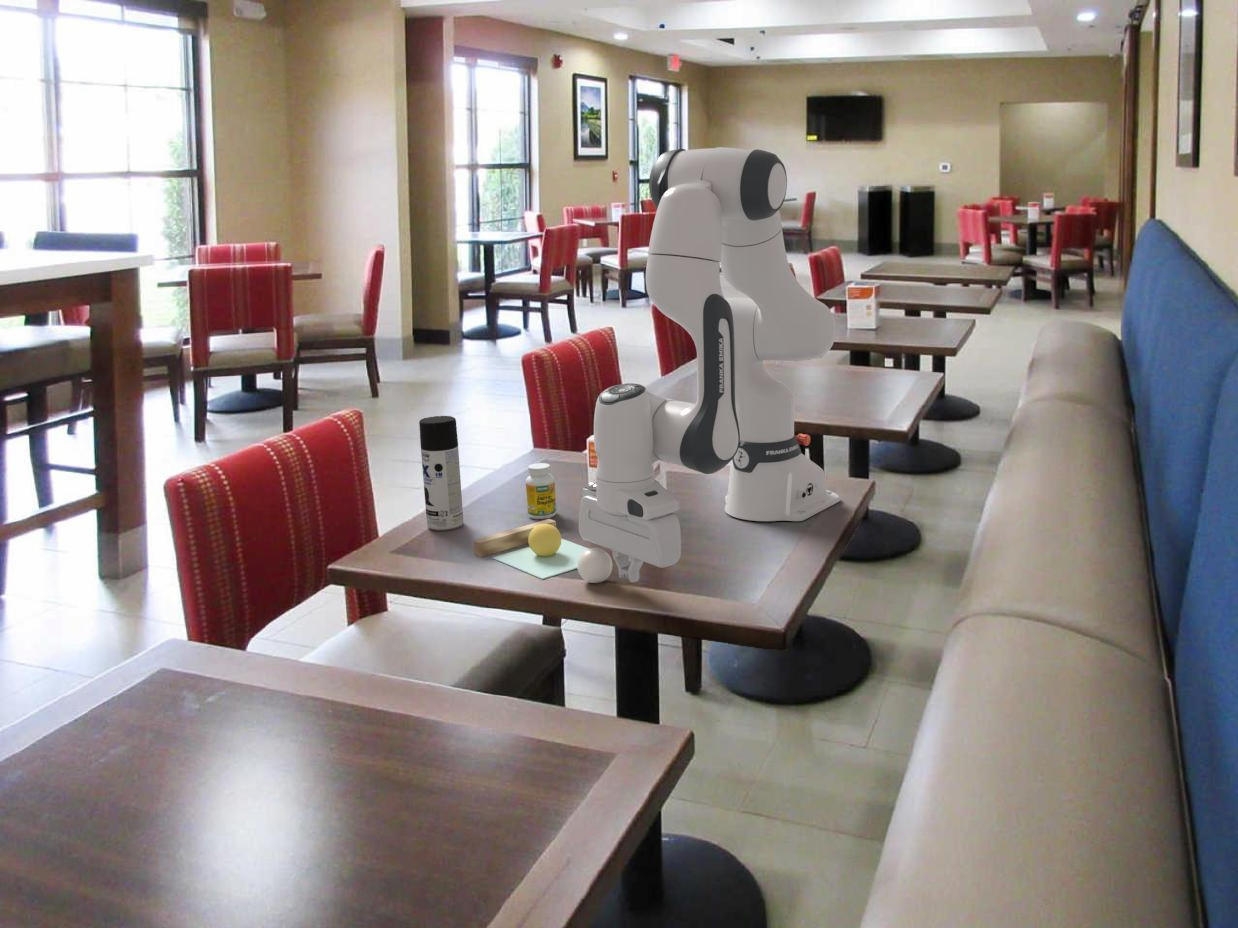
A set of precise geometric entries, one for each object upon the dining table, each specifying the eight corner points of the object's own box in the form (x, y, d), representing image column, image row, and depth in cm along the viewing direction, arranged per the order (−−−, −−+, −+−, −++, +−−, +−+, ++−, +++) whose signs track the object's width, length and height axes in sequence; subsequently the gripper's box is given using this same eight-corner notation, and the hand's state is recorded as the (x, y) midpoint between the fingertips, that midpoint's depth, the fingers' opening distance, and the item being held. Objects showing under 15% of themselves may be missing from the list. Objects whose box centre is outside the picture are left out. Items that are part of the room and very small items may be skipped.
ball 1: (558, 514, 195) (572, 543, 193) (544, 529, 199) (558, 557, 197) (531, 522, 191) (545, 551, 190) (518, 536, 196) (531, 565, 194)
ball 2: (616, 546, 180) (621, 572, 184) (588, 536, 183) (593, 562, 187) (596, 568, 177) (601, 594, 180) (567, 557, 180) (573, 583, 183)
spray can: (423, 523, 215) (414, 417, 209) (458, 517, 217) (450, 413, 212) (432, 533, 209) (423, 425, 203) (468, 527, 211) (460, 420, 206)
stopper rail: (549, 532, 207) (549, 518, 206) (556, 534, 205) (555, 521, 205) (474, 554, 197) (473, 540, 196) (480, 557, 196) (479, 543, 195)
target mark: (559, 538, 203) (558, 537, 203) (610, 557, 193) (610, 556, 193) (492, 558, 195) (492, 557, 195) (542, 579, 184) (542, 578, 184)
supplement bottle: (547, 509, 220) (544, 460, 218) (562, 515, 216) (559, 466, 213) (522, 514, 217) (519, 465, 215) (536, 521, 213) (533, 471, 211)
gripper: (566, 484, 181) (571, 567, 184) (654, 511, 165) (657, 602, 169) (598, 475, 185) (602, 558, 188) (687, 502, 169) (689, 590, 173)
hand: (629, 579), depth 179 cm, fingers closed
